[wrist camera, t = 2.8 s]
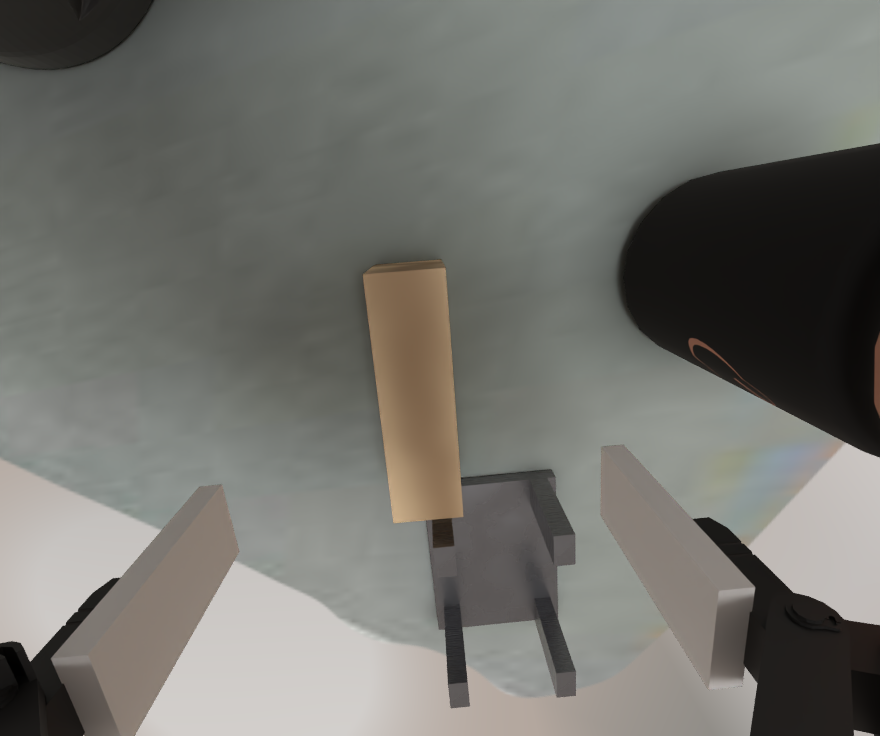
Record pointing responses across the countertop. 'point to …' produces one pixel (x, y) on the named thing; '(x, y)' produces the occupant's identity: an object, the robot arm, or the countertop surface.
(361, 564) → the countertop surface
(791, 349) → the coffee jar
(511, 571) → the bracket
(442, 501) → the block
